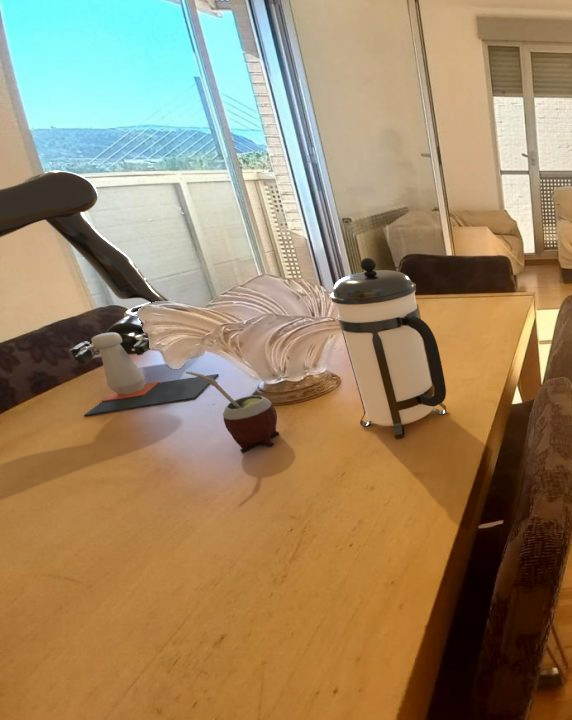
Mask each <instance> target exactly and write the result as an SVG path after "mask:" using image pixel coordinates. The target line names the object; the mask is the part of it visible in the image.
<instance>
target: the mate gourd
mask: <svg viewBox="0 0 572 720" xmlns="http://www.w3.org/2000/svg"><path fill="white" fill-rule="evenodd" d="M185 373H186V374H188V375H191V376H194V377H200V378H203V379H205V380H207V381H209V383H210V385H211V386H212V387H214V388H216V390H217V391H218V392H219V393H220V394H221V395H223V396H224V397H225V399H226V400H228V401H229V403H227V405H226V406H225V408H224V410H223V412H222V417H223V423H224V425H225V428H226V430H227V431H228V433H229V434H230V435H231V437H232V439H233V440H234V442H236V444H237V445H238V446H239V447H240V449H239V451H240V452H241V453H242V454H243V453H246V452H248V451H250V450H253V449H254V448H256V447H258V446H263V447H267V448H272V447H274V446H275V443H274V442H273V441H272V440H271V439H273V438H275V437H278V436H279V435H280V431H278V430H277V423H278V414H277V410H276V408H275V407H274V405H273V404H272V402H271V401H270V400H269V399H268V398H267V397H265V396H262V395H258V394H257V395H256V394H255V395H249V396H248V395H247V396H243V397H240V398H237V399H234V398H233V397H231V396H230V395H229V393H227V392H226V391H225V390H224V389H223V388H222V387H221V386H220V385H219V383H218V382H217V381H216V379H215V380H214V379H211V378H209V377H207V375H204V374H201V373H197V372H193V371H189V370H186V371H185Z"/></svg>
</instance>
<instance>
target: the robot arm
mask: <svg viewBox="0 0 572 720" xmlns="http://www.w3.org/2000/svg"><path fill="white" fill-rule="evenodd" d="M98 196H99V195H98V192H97V188H96V187H95V185H94V184H93V183H92V182H91V181H90V180H88V179H87V178H85V177H84V176H82V175H79V174H78V173H74V172H69V171H64V170H52V171H46V172H44V173H39V174H36V175H33V176H29V177H28V178H26V179H25V180H24V181H23V182H22V183H19V184H16V185H13V186H9V187H4V188H1V189H0V239H1V238H4V237H5V236H8V235H11V234H12V233H15V232H17V231H19V230H21V229H24V228H26V227H28V226H30V225H33V224H36V223H39V222H42V221H46V222H47V223H48V224H49V225H50V226H51V227H52V228H53V229H55V231H57V233H59V235H61V236H62V237H63V238H64V239H65V240H66V242H67V243H69V244H70V245H71V246H72V247H73V248H74V249H75V250H76V251H77V252H78V254H80V255H81V256H82V257H83V258H84V259H85V260H86V261H87V262H88V264H89V266H91V267H92V269H93V270H94V271H95V272H96V274H98V276H99V277H100V278H101V279H102V281H103V282H104V283H105V284H106V286H107V287H108V288H109V289H110V290H111V292H112V293H113V294H114V295H115V297H116V298H118V299H121V300H131V299H132V300H133V299H142V300H145V301H146V302H147V303H144V304H140V305H137V306H134V307H131V308H129V309H127V310H126V311H125V312H124V313H123V318H122V319H121V318H120V319H119V320H117V322H115V323H114V324H112V325H111V326H110V327H109V328H108V329H107V330H106V331H105V333H118V334H119V335H120V336H121V338H122V342H121V343H120V345H121V346H122V347H123V349H124V350H125V351H126V353H127V354H128V355H137V356H143V355H144V354H145V353H147V352H148V351H151V350H152V349H150V348H149V340H148V336H147V335H146V334H145V333H144V332H143V330H142V324H141V321H140V320H139V318H138V316H137V311H138V309H139V308H141V307H142V306H144V305H146V304H149V303H152V302H155V301H171V300H170V299H168V298H167V297H166V296H164V295H163V294H162V293H161V292H159V291H158V289H156V287H154V286H153V285H152V284H151V283H150V282H149V281H148V280H147V279H146V277H145V276H144V275H143V272H141V271H140V269H139V268H138V266H137V265H136V264H135V263H134V262H133V261H132V259H130V257H129V256H127V255H126V254H125V253H124V251H123V252H122V251H121V250H120V249H119V248H117V246H115V245H113V244H112V243H111V242H109V240H107V239H106V238H105V237H103V235H101V234H100V232H98V231H97V230H96V229H95V228H94V227H93V226H92V225H91V223H90V222H89V221H88V219H87V218H86V216H85V214H84V213H85V212H87V211H89V210H91V209H92V208H93V207H94V206H95V205H96V203H97V201H98ZM69 352H70V354H71V356H72V358H73V359H74V361H75V362H77V363H78V364H81V365H88V364H89V363H91V361H92V360H94V359H96V358H102V356H101V352H100V348H96V347H95V346H94V345H93V343H92V342H91V344H90V341H88V340H87V341H86V340H84V341H82V342H80V343H79V344H76V345H75V346H74V347H72V348H70V349H69Z"/></svg>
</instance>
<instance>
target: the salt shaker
mask: <svg viewBox="0 0 572 720" xmlns="http://www.w3.org/2000/svg"><path fill="white" fill-rule="evenodd" d="M90 340H91V343H93V345H94V346H95V347H96V348H100V352H101V356H102V357H101V360H102V365H103V371H104V373H105V379H106V383H107V387H108V388H109V389H110V390H112V392H114V391H115V392H116V393H117V394H119V395H127V394H131V393H134V392H138V391H140V390H142V389H143V388H144V387H145V384H146V376H145V375H144V374H143V372H142V371H141V370H140V368H139V367H138V365H137V364H136V363H135V362H134V360H133V359H132V358H131V357H130V354H127V353H126V351H125V350H124V349H123V347H122V346H121V345H120V343H121V342H122V338H121V336H120V335H119V334H118V333H106V332H104V333H100V334H97V335H94V336H93V337H91V339H90Z"/></svg>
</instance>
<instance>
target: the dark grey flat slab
mask: <svg viewBox="0 0 572 720" xmlns="http://www.w3.org/2000/svg"><path fill="white" fill-rule="evenodd" d="M218 375H219V373H215V374H208V375H206V376H207V377H209V378H211V379H215V378H216V377H217V376H218ZM218 377H219V376H218ZM218 377H217V378H218ZM217 378H216V379H217ZM216 379H215V380H216ZM209 384H210V383H209V381H207V380H205V379H203V378H200V377H197V376H194V377H187V378H181V379H173V380H168V381H161V382H160V381H154V382H147V383H145V387H144V388H143V389H142V390H140V391H138V392H134V393H131V394H127V395H119V394H117V393H116V392H115V391H112V392H111V393H110V394H108V395H107V396H106V397H105V398H103V399H102V400H101V402H100V403H98V404H97V405H95V406H94V407H92V409H90V410H88V411H87V412H86V413H84V414H83V416H84V417H90V416H91V417H92V416H97V415H104V414H109V413H115V412H121V411H122V412H123V411H128V410H134V409H140V408H141V409H142V408H147V407H155V406H160V405H166V404H167V405H168V404H172V403H179V402H185V401H191V400H196V399H197V398H198V397H199V396H200V395H201V394H202V393H203V392H204V391H205V390H206V389H207V388H208V387H209V386H210V385H211V384H210V385H209ZM208 385H209V386H208ZM207 386H208V387H207ZM205 388H206V389H205Z"/></svg>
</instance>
